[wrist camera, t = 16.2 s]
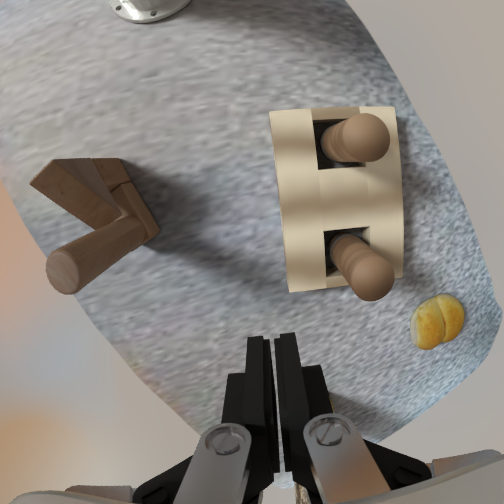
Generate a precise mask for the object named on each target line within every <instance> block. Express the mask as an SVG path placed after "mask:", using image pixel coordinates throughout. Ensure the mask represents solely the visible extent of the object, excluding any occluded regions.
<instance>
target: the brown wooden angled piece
mask: <svg viewBox="0 0 504 504" xmlns="http://www.w3.org/2000/svg"><path fill="white" fill-rule="evenodd" d="M130 181H131V179H130V177H129V175H128V174H127V172H126V170H125V168H124V167H123V165H122V163H121V161H120V159H118V158H92V159H91V158H75V159H54V160H51V161H50V162H49V163H48V164H47V165H46V166H45V167H44V168H43V169H42V170H41V171H40V172H39V173H38V174H37V175H36V176H35V177H34V178H33V179H32V180H31V181H30V183H29V184H30V185H31V186H32V187H34V188H35V189H37V190H38V191H39V192H41V193H42V194H44V195H45V196H46V197H48V198H49V199H51V200H52V201H53V202H55V203H56V204H58V205H59V206H61V207H62V208H63V209H65V210H66V211H68V212H69V213H71V214H72V215H74V216H75V217H77V218H78V219H80V220H81V221H83V222H84V223H85V224H87V225H88V226H90V227H91V228H93V229H94V230H95V231H93V232H91V233H89V234H87V235H85V236H83V237H81V238H78V239H76V240H74V241H72V242H70V243H68V244H66V245H64V246H62V247H60V248H58V249H56V250H54V251H53V252H52V253H51V254H50V255H49V257H48V259H47V262H46V273H47V277H48V279H49V281H50V283H51V285H52V286H53V287H54V288H55V289H56V290H57V291H59V292H60V293H63V294H75V293H77V292H78V291H80V290H81V289H82V288H83V287H85V286H86V285H87V284H88V283H90V282H91V281H92V280H94V279H95V278H96V277H97V276H99V275H100V274H101V273H103V272H104V271H105V270H107V269H108V268H109V267H110V266H112V265H113V264H114V263H116V262H117V261H118V260H120V259H121V258H122V257H124V256H125V255H126V254H128V253H129V252H131V251H133V250H135V249H137V248H138V247H140V246H141V245H143V244H144V243H146V242H147V241H149V240H151V239H152V238H153V237H155V236H156V235H157V234H159V233H160V232H161V230H160V228H159V226H158V225H157V223H156V221H155V220H154V218H153V216H152V215H151V213H150V211H149V210H148V208H147V206H146V205H145V203H144V201H143V200H142V198H141V196H140V195H139V193H138V191H137V189H136V188H135V186H134V184H133V183H132V182H130Z"/></svg>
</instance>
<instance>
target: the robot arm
mask: <svg viewBox="0 0 504 504" xmlns="http://www.w3.org/2000/svg"><path fill="white" fill-rule="evenodd" d="M190 1H191V0H109V3H110V6H111V9H112V10H113V11H114V12H115V14H117V15H118V16H119V17H120V18H122V19H124V20H125V21H129V22H132V23H149V22H153V21H158V20H161V19H163V18H166V17H169V16H170V15H172V14H174V13H176V12H178V11H179V10H181V9H182V8H184V7H185V6H186V5H187V4H188V3H189V2H190ZM274 344H275V358H276V372H277V386H278V401H279V414H280V424H281V434H282V443H283V453H284V463H285V472H291V471H292V475H293V481H294V482H296V483H297V484H299V485H301V486H302V487H304V488H305V494H306V497H307V500H308V503H309V504H504V454H501V453H500V452H498V451H495V450H492V449H491V450H483V451H478V452H473V453H469V454H464V455H458V456H453V457H447V458H440V459H434V460H433V461H432V463H426V464H425V463H424V462H422V461H420V460H418V459H415V458H411V457H409V456H406V455H404V454H401V453H398V452H395V451H392V450H390V449H387V448H385V447H382V446H380V445H377V444H375V443H372V442H370V441H367V440H365V439H362V437H361V435H360V434H359V432H358V430H357V428H356V426H355V424H354V423H353V422H352V421H351V420H350V419H349V418H347V417H346V416H343V415H340V414H334V413H333V409H332V405H331V401H330V398H329V394H328V390H327V386H326V383H325V379H324V375H323V372H322V368H321V365H313V366H306V367H301V362H300V357H299V352H298V346H297V341H296V336H295V332H293V333H285V334H280V338H275V339H274ZM274 473H280V460H279V441H278V423H277V405H276V393H275V384H274V376H273V367H272V358H271V349H270V341H269V339H265V340H264V339H263V336H255V337H248V339H247V354H246V369H245V373H231V374H228V379H227V386H226V393H225V400H224V407H223V414H222V421H221V424H218V425H215V426H213V427H211V428H209V429H208V430H206V431H205V432H204V433H203V435H202V436H201V438H200V440H199V443H198V445H197V447H196V450H195V452H194V455H192V456H190V457H189V458H187V459H186V460H184V461H182V462H180V463H179V464H177V465H175V466H174V467H172V468H170V469H169V470H167V471H165V472H163V473H161V474H160V475H158V476H156V477H154V478H152V479H150V480H149V481H147V482H145V483H143V484H142V485H141V486H139V487H138V488H132V487H131V486H85V485H77V486H71V487H69V488H67V489H66V490H65V491H53V490H48V491H33V492H28V493H24V494H21V495H19V496H17V497H16V498H15V499H14V500H13V501H12V502H11V503H10V504H261V503H262V498H263V490H264V489H265V488H266V487H268V486H269V485H270V484H271V483H272V482H274Z"/></svg>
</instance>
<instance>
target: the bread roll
mask: <svg viewBox="0 0 504 504" xmlns="http://www.w3.org/2000/svg"><path fill="white" fill-rule="evenodd" d="M464 316H465V314H464V309H463V307H462V305H461V303H460V302H459V301H458V300H457V299H456V298H455V297H453V296H451V295H449V294H439V295H436V296H435V297H433V298H430V299H427V300H425V301H424V302H423V303H421V304H420V305H419V306H418V307H417V308H416V310H415V311H414V313H413V315H412V317H411V324H410V332H411V339H412V342H413V344H414V345H416V346H417V347H418V348H420V349H423V350H430V349H433V348H434V347H436V346H437V345H439V344H440V343H441V342H445V343H446V342H449V341H451V340H453V339H454V338H455V337H456V336H457V335H458V334H459V332H460V331H461V329H462V326H463V323H464Z"/></svg>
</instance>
